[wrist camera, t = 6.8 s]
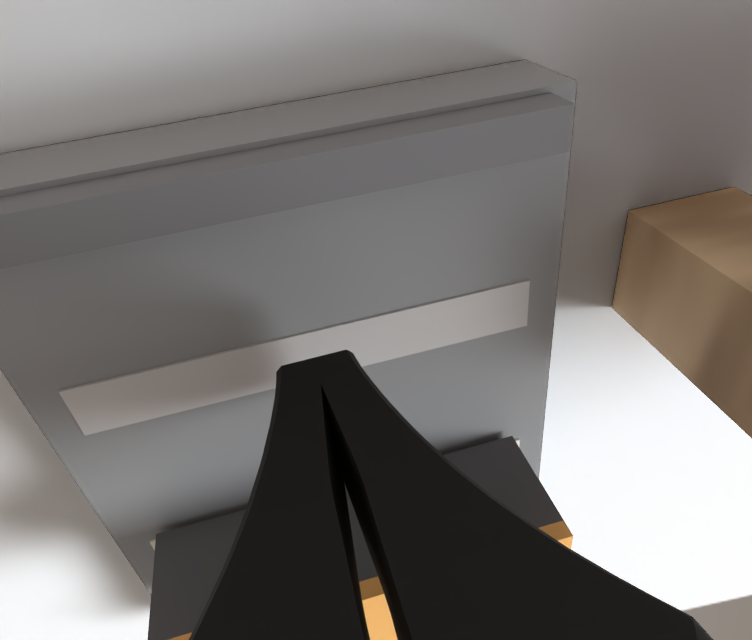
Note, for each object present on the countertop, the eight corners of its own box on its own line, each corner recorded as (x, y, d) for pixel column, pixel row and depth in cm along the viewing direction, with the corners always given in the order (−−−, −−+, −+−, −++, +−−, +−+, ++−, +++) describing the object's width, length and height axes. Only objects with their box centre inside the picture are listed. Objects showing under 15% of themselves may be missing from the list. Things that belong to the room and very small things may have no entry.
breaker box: (525, 59, 11) (603, 92, 9) (505, 507, 20) (542, 580, 18) (-56, 164, 10) (-132, 233, 8) (196, 599, 19) (195, 689, 17)
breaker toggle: (512, 436, 15) (573, 536, 12) (509, 493, 16) (563, 593, 14) (155, 534, 13) (146, 666, 11) (187, 587, 15) (183, 715, 12)
